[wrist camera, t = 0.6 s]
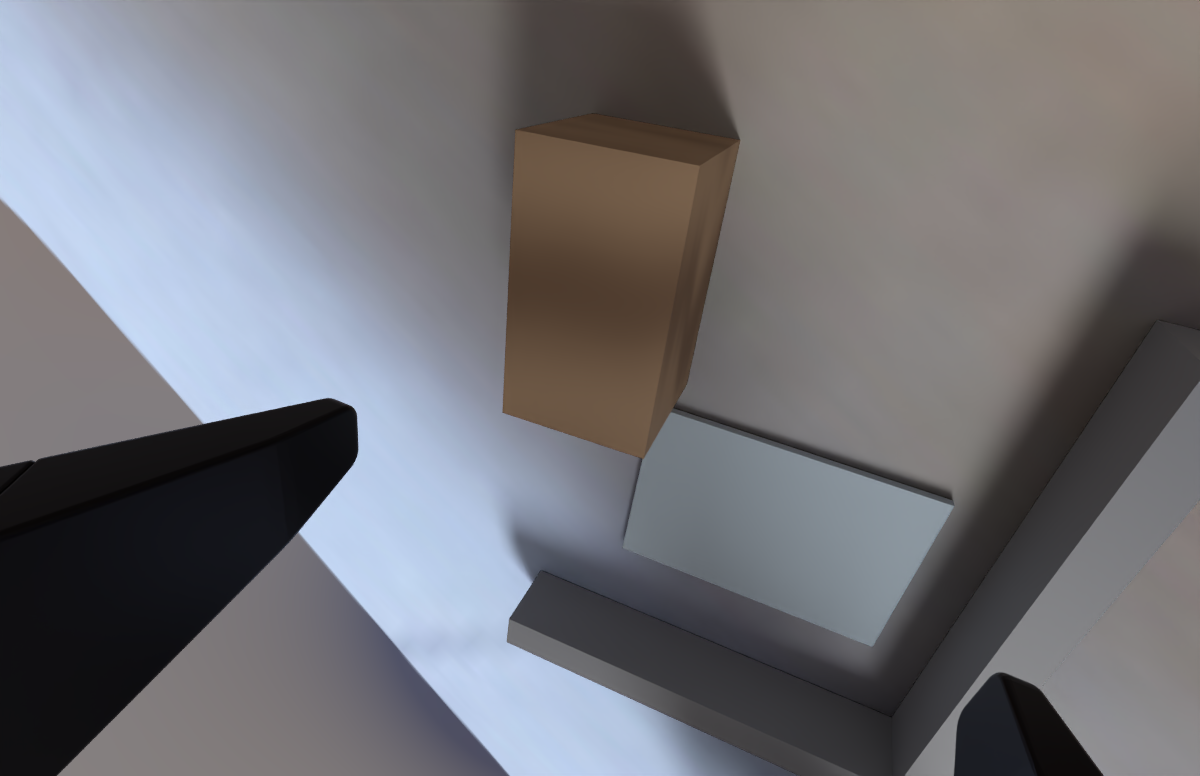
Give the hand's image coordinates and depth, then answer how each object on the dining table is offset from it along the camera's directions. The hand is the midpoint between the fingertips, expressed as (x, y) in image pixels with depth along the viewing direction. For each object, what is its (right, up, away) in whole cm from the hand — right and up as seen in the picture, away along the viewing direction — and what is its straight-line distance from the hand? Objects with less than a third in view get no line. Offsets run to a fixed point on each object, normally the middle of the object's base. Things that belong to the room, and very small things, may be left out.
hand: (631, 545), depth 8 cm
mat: (+6, -3, +15) cm, 16 cm away
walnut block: (+1, +6, +12) cm, 14 cm away
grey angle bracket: (+6, -2, +14) cm, 15 cm away
